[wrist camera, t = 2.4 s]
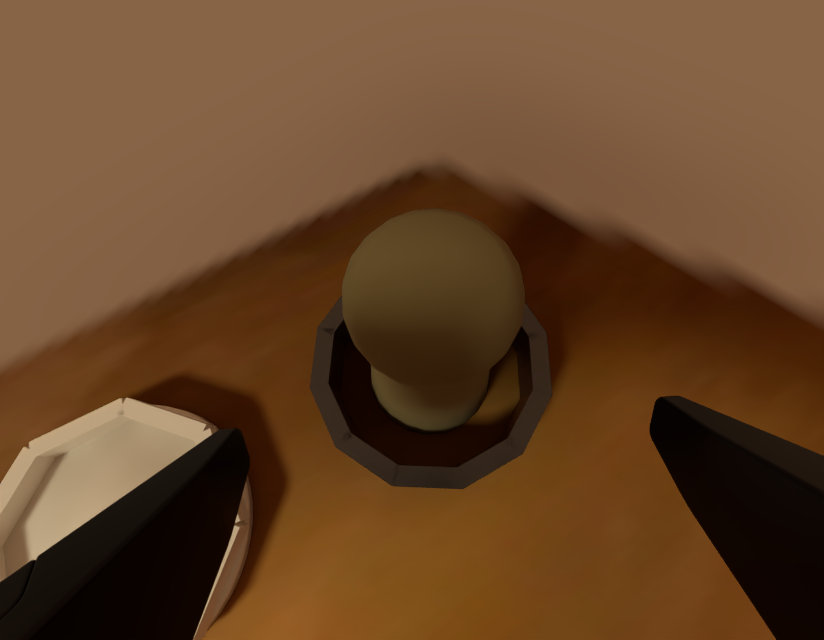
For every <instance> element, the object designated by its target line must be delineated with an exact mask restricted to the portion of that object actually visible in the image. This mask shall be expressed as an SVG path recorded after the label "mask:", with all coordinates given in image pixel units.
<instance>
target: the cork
mask: <svg viewBox="0 0 824 640" xmlns="http://www.w3.org/2000/svg"><path fill="white" fill-rule="evenodd" d="M524 304H525V289H524V284H523V279H522V274H521V270H520V265H519V263H518V262H517V260H516V258H515V257H514V255H513V253H512V252H511V250H510V248H509V247H508V245H507V243H506V242H504V241H503V240H502V239H501V238H500V237H499V236H498V235H497V234H496V233H494V232H493V231H492V230H491V229H490V228H489V227H488V226H486V225H485V224H484V223H483V222H481V221H479V220H476V219H474V218H472V217H470V216H468V215H466V214H464V213H462V212H456V211H450V210H444V209H439V208H434V209H423V210H413V211H410V212H407V213H405V214H402V215H399V216H397V217H394V218H391V219H389V220H388V221H387V222H385V223H384V224H382V225H381V226H380V227H378V228H377V229H376V230H374V231H373V232H372V233H370V234H369V235H368V236H367V237H366V238H365V239H364V240H363V242H362V243H361V244H360V246H359V247H358V248H357V250H356V251H355V252H354V254H353V255H352V257H351V258H350V261H349V264H348V267H347V271H346V274H345V277H344V280H343V286H342V307H343V318H344V321H345V323H346V326H347V328H348V331H349V334H350V336H351V339H352V341H353V343H354V345H355V346H356V348H357V349H358V350H359V351H360V352H361V354H362V355H363V356H364V357H365V358H366V359H367V361H368V362H369V363H370V364H371V382H372V389H373V392H374V395H375V397H376V400H377V402H378V405H379V406H380V407H381V408H382V410H383V411H384V412H385V413H386V415H387V416H388V417H389V418H390V419H391V420H392V421H394V422H395V423H397V424H399V425H400V426H402V427H403V428H405V429H407V430H410V431H415V432H419V433H423V434H434V433H445V432H448V431H450V430H452V429H454V428H457V427H459V426H461V425H463V424H464V423H465V422H467V421H468V420H469V419H470V418H471V417H472V416H473V415H474V414H475V413H476V412H477V411H478V409H479V407H480V406H481V404H482V402H483V400H484V398H485V396H486V393H487V387H488V381H489V373H490V368H491V367H492V366H494V365H495V364H496V363H497V362H498V361H499V360H500V359H501V358H502V357H504V355H505V354H506V353H507V351H508V350H509V348H510V346H511V344H512V342H513V340H514V339H515V337H516V335H517V333H518V331H519V329H520V327H521V325H522V318H523V311H524Z"/></svg>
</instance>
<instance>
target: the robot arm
mask: <svg viewBox="0 0 824 640" xmlns="http://www.w3.org/2000/svg"><path fill="white" fill-rule="evenodd" d="M650 436H651V439H652V441H653V443H654V444H655V446H656V448H657V450H658V452H659V454H660V456H661V458H662V459H663V461H664V463H665V465H666V467H667V469H668V471H669V473H670V474H671V476H672V478H673V480H674V482H675V484H676V486H677V488H678V489H679V491H680V493H681V495H682V497H683V498H684V500H685V502H686V504H687V505H688V507H689V508H690V510H691V512H692V513H693V515H694V516H695V518H696V519H697V521H698V522H699V524H700V525H701V527H702V528H703V530H704V531H705V533H706V534H707V536H708V537H709V539H710V541H711V542H712V544H713V545H714V547H715V548H716V550H717V551H718V553H719V554H720V556H721V557H722V559H723V560H724V562H725V563H726V565H727V566H728V568H729V569H730V571H731V572H732V574H733V575H734V577H735V578H736V580H737V581H738V583H739V584H740V586H741V587H742V589H743V590H744V592H745V593H746V595H747V596H748V598H749V599H750V601H751V602H752V604H753V605H754V607H755V608H756V610H757V611H758V613H759V614H760V616H761V617H762V619H763V620H764V622H765V623H766V625H767V626H768V628H769V629H770V631H771V632H772V634H773V635H774V637H775V638H776V640H824V456H823V455H820V454H818V453H815V452H813V451H811V450H808V449H806V448H803V447H801V446H799V445H796V444H794V443H791V442H789V441H787V440H784V439H782V438H779V437H777V436H775V435H772V434H770V433H767V432H765V431H763V430H760V429H758V428H755V427H753V426H751V425H748V424H746V423H743V422H741V421H739V420H736V419H734V418H731V417H729V416H726V415H724V414H722V413H719V412H717V411H714V410H712V409H710V408H707V407H705V406H702V405H700V404H698V403H695V402H693V401H690V400H688V399H686V398H683V397H681V396H666V397H660V398H658V399H657V400H656V401H655V405H654V409H653V414H652V418H651V423H650ZM249 467H250V458H249V454H248V451H247V447H246V444H245V441H244V438H243V435H242V432H241V431H240V430H239V429H237V428H230V429H220V430H218V431H216V432H215V433H213V434H212V435H210V436H209V437H208V438H206V439H205V440H203V441H202V442H200V443H199V444H198V445H196V446H195V447H193V448H192V449H190V450H189V451H187V452H186V453H185V454H183V455H182V456H180V457H179V458H177V459H176V460H175V461H173V462H172V463H170V464H169V465H167V466H166V467H165V468H163V469H162V470H160V471H159V472H157V473H156V474H154V475H153V476H152V477H150V478H149V479H147V480H146V481H144V482H143V483H142V484H140V485H139V486H137V487H136V488H134V489H133V490H132V491H130V492H129V493H127V494H126V495H124V496H123V497H121V498H120V499H119V500H117V501H116V502H114V503H113V504H111V505H110V506H109V507H107V508H106V509H104V510H103V511H101V512H100V513H99V514H97V515H96V516H94V517H93V518H91V519H90V520H89V521H87V522H86V523H84V524H83V525H81V526H80V527H78V528H77V529H76V530H74V531H73V532H71V533H70V534H68V535H67V536H66V537H64V538H63V539H61V540H60V541H58V542H57V543H56V544H54V545H53V546H51V547H50V548H48V549H47V550H45V551H44V552H43V553H41V554H40V555H38V556H37V558H36V560H31V561H29V562H28V563H27V564H25V565H24V566H22V567H21V568H20V569H18V570H17V571H15V572H14V573H12V574H11V575H10V576H8V577H7V578H5V579H4V580H2V581H1V582H0V640H193V639H194V636H195V633H196V631H197V628H198V625H199V623H200V620H201V617H202V614H203V612H204V609H205V606H206V604H207V601H208V598H209V596H210V593H211V590H212V588H213V585H214V582H215V580H216V577H217V574H218V572H219V569H220V566H221V564H222V561H223V558H224V556H225V553H226V550H227V547H228V545H229V542H230V539H231V536H232V532H233V529H234V525H235V521H236V518H237V514H238V510H239V506H240V502H241V498H242V495H243V491H244V487H245V483H246V479H247V475H248V471H249Z"/></svg>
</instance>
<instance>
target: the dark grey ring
mask: <svg viewBox="0 0 824 640" xmlns="http://www.w3.org/2000/svg"><path fill="white" fill-rule="evenodd" d="M350 339H351V336H350V334H349V331H348V328H347V326H346V323H345V321H344V318H343V307H342V296H341V297H340V298H339V300H338V301H337V302H336V304H335V305H334V306H333V308H332V309H331V310H330V312H329V313H328V314H327V316H326V317H325V318H324V320H323V321H322V322H321V324H320V325H319V326H318V329H317V337H316V344H315V352H314V360H313V367H312V375H311V383H310V389H311V392H312V394H313V396H314V398H315V401H316V403H317V405H318V408H319V410H320V412H321V415H322V417H323V419H324V421H325V424H326V426H327V428H328V431H329V433H330V435H331V438H332V440H333V442H334V444H335V447H336V448H338V449H339V450H341V451H342V452H344V453H345V454H346V455H348V456H349V457H351V458H352V459H354V460H355V461H357V462H358V463H359V464H361V465H362V466H364V467H365V468H367V469H368V470H370V471H371V472H372V473H374V474H375V475H377V476H378V477H380V478H381V479H383V480H384V481H386V482H387V483H388V484H390V485H391V486H401V487H426V488H450V489H462V488H463V489H464V488H465V487H467V486H469V485H471V484H472V483H474V482H476V481H477V480H479V479H481V478H482V477H484V476H486V475H488V474H489V473H491V472H493V471H494V470H496V469H498V468H499V467H501V466H503V465H505V464H506V463H508V462H510V461H511V460H513V459H515V458H516V457H518V456H520V455H522V453H523V452H524V450H525V448H526V446H527V444H528V442H529V440H530V438H531V436H532V434H533V432H534V430H535V428H536V426H537V424H538V422H539V420H540V418H541V416H542V414H543V412H544V410H545V408H546V406H547V404H548V402H549V400H550V398H551V396H552V387H551V376H550V365H549V355H548V344H547V333H546V331H545V330H544V329H543V327H542V326H541V324H540V323H539V321H538V320H537V319H536V317H535V316H534V314H533V313H532V312H531V310H530V309H529V307H528V306H527V304H526V303H525V304H524V311H523V318H522V325H521V327H520V329H519V331H518V333H517V335H516V337H515V339H514V340H513V342H512V345H513V347H514V348H515V350H516V351H517V357H518V372H519V388H520V401H519V403H518V404H517V406H516V408H515V410H514V412H513V414H512V416H511V418H510V420H509V422H508V423H507V425H506V427H505V429H504V431H503V433H502V435H501V437H500V439H499V441H498V442H497V443H496V444H494V445H492V446H491V447H489V448H487V449H485V450H484V451H482V452H480V453H479V454H477V455H475V456H473V457H472V458H470V459H468V460H466V461H465V462H463V463H461V464H459V465H458V466H456V467H432V466H406V465H400V464H398V463H397V462H395V461H394V460H392V459H391V458H389V457H388V456H386V455H385V454H383V453H382V452H380V451H379V450H377V449H376V448H374V447H373V446H371V445H370V444H368V443H367V442H366V441H364V440H363V439H361V438H360V437H359V435H358V432H357V430H356V428H355V426H354V424H353V422H352V419H351V417H350V415H349V413H348V411H347V409H346V406H345V404H344V402H343V400H342V398H341V395H340V386H341V377H342V367H343V357H344V348H345V347H346V345H347V344H348V342H349V341H350Z"/></svg>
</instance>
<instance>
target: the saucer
mask: <svg viewBox="0 0 824 640" xmlns="http://www.w3.org/2000/svg"><path fill="white" fill-rule="evenodd" d="M218 430H220V429H219V428H217V426H215V425H214V424H212V423H211V422H209V421H208V420H206V419H204V418H203V417H201V416H198V415H196V414H194V413H191V412H188V411H184V410H180V409H176V408H172V407H168V406H161V405H152V404H149V403H146V402H143V401H139V400H135V399H131V398H127V397H126V399H124V398H120V399H118V400H116V401H114V402H111V403H109V404H107V405H105V406H103V407H101V408H99V409H97V410H95V411H93V412H91V413H89V414H87V415H84V416H82V417H80V418H78V419H76V420H74V421H72V422H70V423H68V424H66V425H64V426H62V427H59V428H57V429H55V430H53V431H51V432H49V433H47V434H45V435H43V436H41V437H39V438H37V439H35V440H32V441H30V442H29V447H23V449H22V450H21V452H20V453H19V455H18V457H17V458H16V460H15V462H14V463H13V465H12V466H11V468H10V470H9V471H8V473H7V474H6V476H5V478H4V479H3V481H2V482H1V484H0V582H1V581H2V580H4V579H5V578H7V577H8V576H10V575H11V574H12V573H14V572H15V571H17V570H18V569H20V568H21V567H22V566H24V565H25V564H27V563H28V562H29V561H31V560H36V558H37V556H38V555H40V554H41V553H43V552H44V551H45V550H47V549H48V548H50V547H51V546H53V545H54V544H56V543H57V542H58V541H60V540H61V539H63V538H64V537H66V536H67V535H68V534H70V533H71V532H73V531H74V530H76V529H77V528H78V527H80V526H81V525H83V524H84V523H86V522H87V521H89V520H90V519H91V518H93V517H94V516H96V515H97V514H99V513H100V512H101V511H103V510H104V509H106V508H107V507H109V506H110V505H111V504H113V503H114V502H116V501H117V500H119V499H120V498H121V497H123V496H124V495H126V494H127V493H129V492H130V491H132V490H133V489H134V488H136V487H137V486H139V485H140V484H142V483H143V482H144V481H146V480H147V479H149V478H150V477H152V476H153V475H154V474H156V473H157V472H159V471H160V470H162V469H163V468H165V467H166V466H167V465H169V464H170V463H172V462H173V461H175V460H176V459H177V458H179V457H180V456H182V455H183V454H185V453H186V452H187V451H189V450H190V449H192V448H193V447H195V446H196V445H198V444H199V443H200V442H202V441H203V440H205V439H206V438H208V437H209V436H210V435H212V434H213V433H215V432H216V431H218ZM252 526H253V499H252V491H251V485H250V481H249V477H248V475H247V479H246V483H245V487H244V491H243V495H242V498H241V502H240V506H239V510H238V514H237V518H236V521H235V525H234V529H233V532H232V536H231V539H230V542H229V545H228V547H227V550H226V553H225V556H224V558H223V561H222V564H221V566H220V569H219V572H218V574H217V577H216V580H215V582H214V585H213V588H212V590H211V593H210V596H209V598H208V601H207V604H206V606H205V609H204V612H203V614H202V617H201V620H200V623H199V625H198V628H197V631H196V633H195V636H194V639H193V640H201V639H203V638H204V637H205V634H206V632H207V631H208V629H209V628H210V627H211V626H212V624H213V623H214V622H215V620H216V619H217V617H218V616H219V615H220V613H221V612H222V610H223V609H224V607H225V605H226V604H227V602H228V600H229V599H230V597H231V595H232V593H233V591H234V589H235V587H236V585H237V582H238V580H239V578H240V576H241V573H242V570H243V567H244V564H245V561H246V558H247V555H248V550H249V546H250V541H251V535H252Z"/></svg>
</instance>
